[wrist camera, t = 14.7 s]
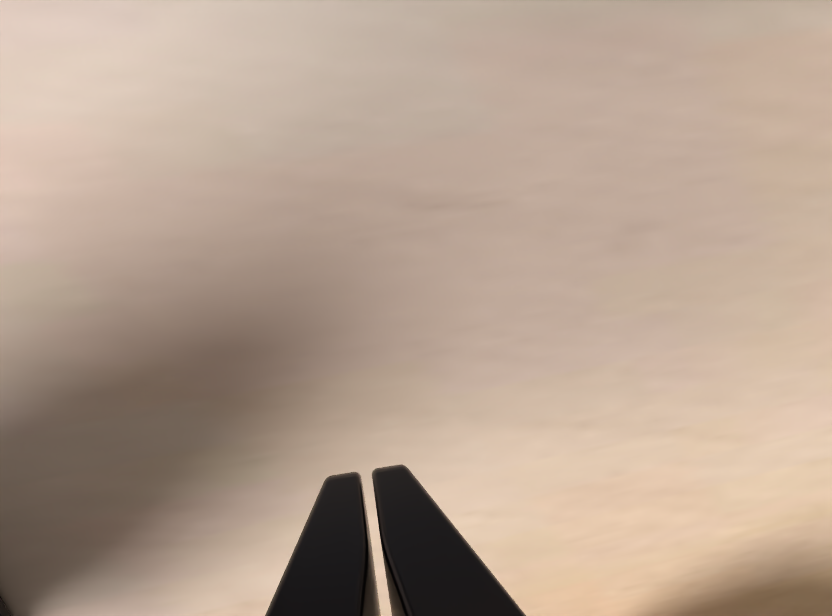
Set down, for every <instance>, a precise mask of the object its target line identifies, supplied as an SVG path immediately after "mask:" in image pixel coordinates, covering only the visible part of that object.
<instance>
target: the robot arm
mask: <svg viewBox="0 0 832 616" xmlns="http://www.w3.org/2000/svg"><path fill="white" fill-rule="evenodd" d="M372 479H373V486H374V494H375V501H376V508H377V516H378V523H379V531H380V538H381V545H382V551H383V558H384V565H385V571H386V578H387V585H388V591H389V598H390V605H391V612H392V616H526V615H525V614H524V613H523V611H522V610H521V609H520V608H519V606H518V605H517V604H516V603H515V601H514V600H513V599H512V598H511V596H510V595H509V594H508V593H507V591H506V590H505V589H504V588H503V586H502V585H501V584H500V583H499V581H498V580H497V579H496V578H495V576H494V575H493V574H492V573H491V571H490V570H489V569H488V568H487V566H486V565H485V564H484V563H483V561H482V560H481V559H480V558H479V556H478V555H477V554H476V553H475V551H474V550H473V549H472V548H471V546H470V545H469V544H468V543H467V541H466V540H465V539H464V538H463V536H462V535H461V534H460V533H459V531H458V530H457V529H456V528H455V526H454V525H453V524H452V523H451V521H450V520H449V519H448V518H447V516H446V515H445V514H444V513H443V511H442V510H441V509H440V508H439V506H438V505H437V504H436V503H435V501H434V500H433V499H432V498H431V496H430V495H429V494H428V493H427V491H426V490H425V489H424V488H423V486H422V485H421V484H420V483H419V481H418V480H417V479H416V478H415V476H414V475H413V474H412V473H411V471H410V470H409V469H408V468H407V467H406V466H404V465H395V466H389V467H382V468H377V469H375V470H374V471H373V473H372ZM0 616H11V615H10V613H9V611H8V610H7V608H6V606H5V604H4V603H3V601H2V599H1V597H0ZM265 616H381V614H380V607H379V599H378V591H377V584H376V576H375V569H374V561H373V554H372V546H371V538H370V531H369V524H368V517H367V511H366V505H365V499H364V492H363V486H362V480H361V476H360V474H359V473H357V472H351V473H345V474H339V475H332V476H329V477H328V478H326V480H325V481H324V483H323V486H322V488H321V490H320V492H319V495H318V497H317V499H316V501H315V504H314V506H313V508H312V510H311V513H310V515H309V517H308V520H307V522H306V524H305V526H304V529H303V531H302V533H301V535H300V538H299V540H298V542H297V545H296V547H295V549H294V551H293V554H292V556H291V558H290V560H289V563H288V565H287V567H286V569H285V572H284V574H283V576H282V579H281V581H280V583H279V585H278V588H277V590H276V592H275V594H274V597H273V599H272V601H271V603H270V606H269V608H268V610H267V613H266V615H265Z"/></svg>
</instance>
